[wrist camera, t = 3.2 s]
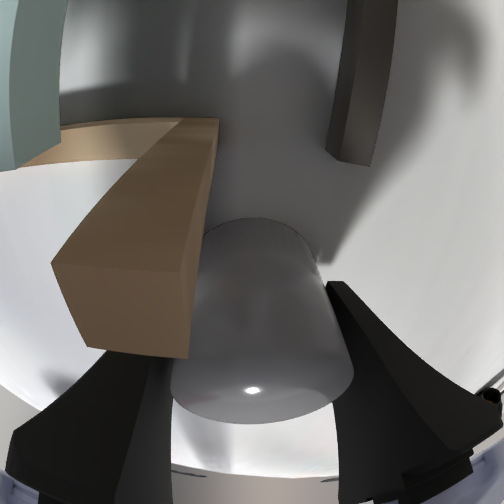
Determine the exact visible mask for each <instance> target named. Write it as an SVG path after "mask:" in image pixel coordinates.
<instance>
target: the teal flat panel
mask: <svg viewBox="0 0 504 504" xmlns="http://www.w3.org/2000/svg"><path fill="white" fill-rule="evenodd" d="M67 2H68V0H0V172H3V171H9V170H16V169H17V168H19V167H21V166H22V165H24V164H25V163H27V162H28V161H30V160H32V159H33V158H35V157H37V156H38V155H40V154H42V153H43V152H45V151H47V150H49V149H50V148H52V147H54V146H56V145H58V144H59V143H61V130H60V110H59V76H60V57H61V45H62V35H63V27H64V20H65V14H66V8H67Z"/></svg>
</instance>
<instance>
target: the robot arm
mask: <svg viewBox="0 0 504 504" xmlns="http://www.w3.org/2000/svg"><path fill="white" fill-rule="evenodd" d="M325 289H326V291H327V294H328V297H329V299H330V302H331V305H332V308H333V310H334V313H335V316H336V318H337V321H338V324H339V327H340V330H341V332H342V335H343V338H344V341H345V344H346V347H347V350H348V353H349V356H350V359H351V362H352V365H353V368H354V376H353V379H352V382H351V384H350V385H349V387H348V388H347V389H346V390H345V391H344V393H343V394H341V395H340V396H339V397H338V398H337V399H335V400H334V401H332V403H333V408H334V415H335V423H336V431H337V442H338V457H339V491H338V500H339V504H359V503H363V502H367V501H370V500H373V502H374V504H500V503H501V502H502V501H503V500H504V438H502V439H501V440H499V441H498V442H497V443H495V444H494V445H492V446H490V447H489V448H487V449H486V450H483V451H482V452H480V453H478V454H476V455H475V456H473V457H471V458H469V457H470V456H472V455H473V454H474V452H473V449H472V448H473V447H475V446H476V445H478V444H480V443H481V442H482V441H484V440H485V439H487V438H488V437H490V436H491V435H493V434H494V433H495V432H497V431H498V430H499V429H501V428H502V427H503V422H502V419H501V417H500V414H499V412H498V409H497V407H496V405H495V404H492V403H490V402H488V401H486V400H484V399H482V398H480V397H478V396H476V395H474V394H472V393H470V392H469V391H467V390H465V389H463V388H462V387H460V386H458V385H457V384H455V383H454V382H452V381H451V380H449V379H448V378H446V377H445V376H443V375H442V374H441V373H439V372H438V371H436V370H435V369H434V368H432V367H431V366H430V365H429V364H427V363H426V362H425V361H424V360H422V359H421V358H420V357H419V356H418V355H417V354H415V353H414V352H413V351H412V350H411V349H410V348H408V347H407V346H406V345H405V344H404V343H403V342H402V341H401V340H400V339H399V338H398V337H397V336H396V335H395V334H394V333H393V332H392V331H391V330H390V329H389V328H388V327H387V326H386V325H385V324H384V323H383V322H382V321H381V320H380V319H379V318H378V317H377V316H376V315H375V314H374V313H373V312H372V311H371V309H370V308H369V307H368V306H367V305H366V304H365V303H364V302H363V301H362V300H361V299H360V298H359V297H358V296H357V295H356V293H355V292H354V291H353V290H352V289H351V288H350V287H349V286H348V285H347V284H346V283H345V282H344V281H328V282H327V284H326V287H325ZM172 366H173V358H169V357H158V356H148V355H139V354H131V353H124V352H117V351H110V350H107V351H106V352H105V353H104V354H103V355H102V356H101V357H100V358H99V359H98V360H97V362H96V363H95V364H94V365H93V366H92V367H91V368H90V369H89V370H88V371H87V372H86V373H85V374H84V375H83V376H82V377H81V378H80V379H79V380H78V381H77V382H76V383H75V384H74V385H72V386H71V387H70V388H69V389H68V390H67V391H66V392H65V393H63V394H62V395H61V396H60V397H59V398H57V399H56V400H55V401H54V402H53V403H51V404H50V405H49V406H48V407H47V408H45V409H44V410H43V411H41V412H40V413H39V414H37V415H36V416H34V417H33V418H31V419H30V420H29V421H27V422H26V423H24V424H23V425H22V426H20V427H18V428H17V429H15V430H14V431H13V435H12V438H11V441H10V446H9V451H8V456H7V461H6V468H5V471H3V470H1V469H0V504H173V499H172V483H171V417H172V404H173V396H172V394H171V390H170V384H171V375H172Z"/></svg>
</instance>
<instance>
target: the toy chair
mask: <svg viewBox="0 0 504 504" xmlns="http://www.w3.org/2000/svg"><path fill="white" fill-rule="evenodd" d="M397 2H398V0H348V7H347V16H346V24H345V32H344V40H343V47H342V55H341V61H340V68H339V75H338V81H337V87H336V93H335V99H334V105H333V111H332V116H331V122H330V127H329V132H328V138H327V143H326V148H325V150H326V151H327V152H329V153H330V154H331V155H332V156H333V157H334V158H336V159H337V160H338V161H341V162H347V163H353V164H358V165H363V166H368V167H370V164H371V160H372V156H373V152H374V148H375V143H376V139H377V135H378V130H379V126H380V121H381V116H382V112H383V106H384V101H385V96H386V91H387V85H388V79H389V73H390V66H391V59H392V52H393V44H394V36H395V26H396V16H397ZM219 121H220V118H199V117H152V118H130V119H115V120H104V121H94V122H85V123H77V124H70V125H63V126H60V130H61V143H59V144H58V145H56V146H54V147H52V148H50V149H49V150H47V151H45V152H43V153H42V154H40V155H38V156H37V157H35V158H33V159H32V160H30V161H28V162H27V163H25V164H24V165H22V166H21V167H28V166H36V165H44V164H54V163H64V162H76V161H91V160H110V159H138V160H137V161H136V162H135V163H134V164H133V165H132V166H131V167H130V168H129V169H128V170H127V171H126V172H125V173H124V174H123V175H122V176H121V178H120V179H119V180H118V181H117V182H116V183H115V184H114V185H113V186H112V187H111V188H110V189H109V190H108V191H107V193H106V194H105V195H104V196H103V197H102V198H101V199H100V200H99V202H98V203H97V204H96V205H95V206H94V207H93V209H92V210H91V211H90V212H89V213H88V215H87V216H86V217H85V218H84V219H83V221H82V222H81V223H80V224H79V226H78V227H77V228H76V229H75V231H74V232H73V233H72V234H71V236H70V237H69V238H68V240H67V241H66V242H65V244H64V245H63V246H62V248H61V249H60V250H59V252H58V253H57V255H56V256H55V257H54V259H53V260H52V262H51V265H52V268H53V271H54V274H55V276H56V279H57V282H58V284H59V287H60V289H61V292H62V294H63V297H64V299H65V301H66V304H67V306H68V308H69V311H70V313H71V315H72V317H73V319H74V322H75V324H76V326H77V328H78V330H79V332H80V334H81V336H82V338H83V340H84V342H85V344H86V346H87V347H91V348H97V349H103V350H110V351H117V352H124V353H131V354H139V355H148V356H158V357H169V358H181V359H188V353H189V343H190V333H191V323H192V314H193V305H194V296H195V288H196V280H197V272H198V265H199V258H200V251H201V244H202V237H203V230H204V224H205V217H206V211H207V205H208V199H209V193H210V187H211V182H212V176H213V170H214V165H215V160H216V154H217V146H218V133H219ZM21 167H19V168H21Z"/></svg>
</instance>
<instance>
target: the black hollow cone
mask: <svg viewBox="0 0 504 504" xmlns="http://www.w3.org/2000/svg"><path fill="white" fill-rule="evenodd" d="M476 396H478V397H480V398H482V399H484V400H486V401H488V402H490V403H492V404H495V405H496V407H497V409H498V412H499V414H500V417H502V402H501V393H500V391H499V390H497V389H495V388H487V389H486V390H485V391H484V392H481V393H480V394H478V395H476Z"/></svg>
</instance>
